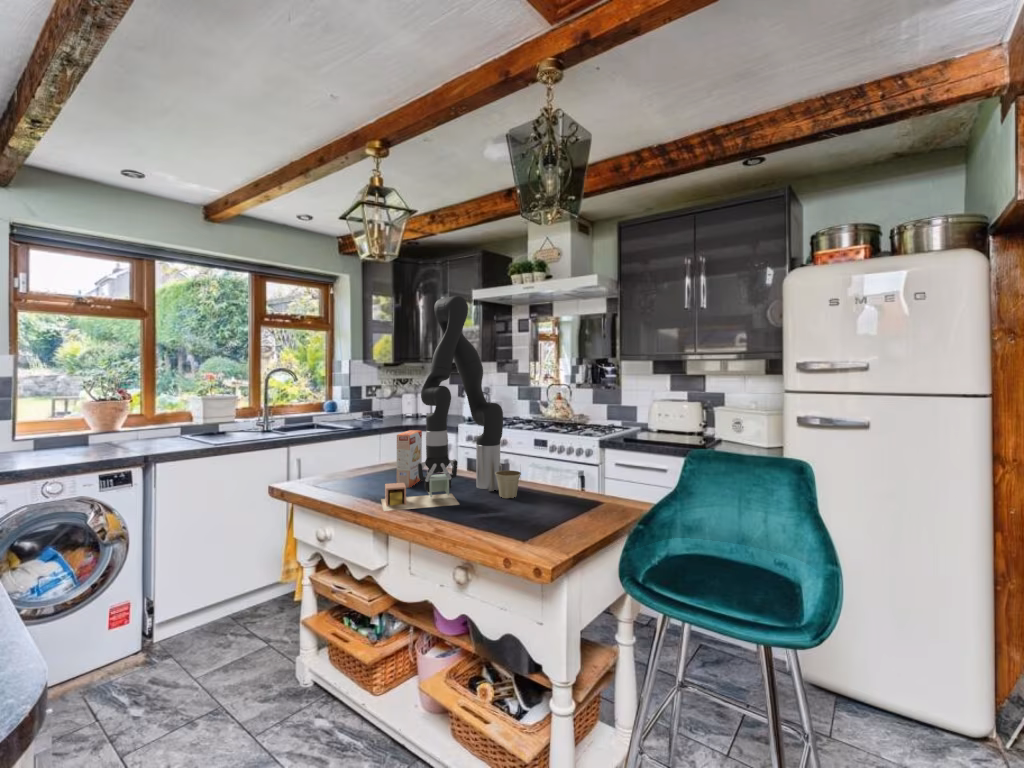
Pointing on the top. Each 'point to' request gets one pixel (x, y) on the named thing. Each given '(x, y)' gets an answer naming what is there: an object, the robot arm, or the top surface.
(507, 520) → the top surface
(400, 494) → the letter cube
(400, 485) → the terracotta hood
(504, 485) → the flower pot
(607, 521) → the top surface
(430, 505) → the board
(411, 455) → the cracker box
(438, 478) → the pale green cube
